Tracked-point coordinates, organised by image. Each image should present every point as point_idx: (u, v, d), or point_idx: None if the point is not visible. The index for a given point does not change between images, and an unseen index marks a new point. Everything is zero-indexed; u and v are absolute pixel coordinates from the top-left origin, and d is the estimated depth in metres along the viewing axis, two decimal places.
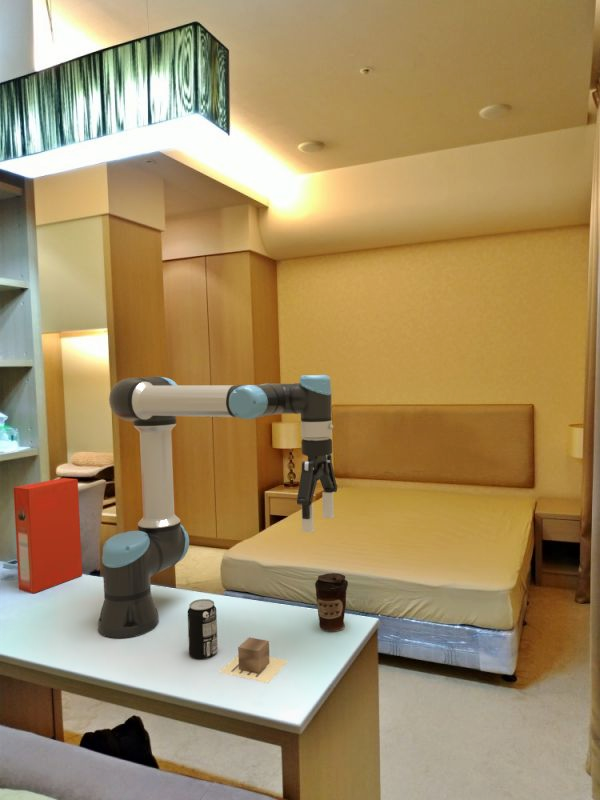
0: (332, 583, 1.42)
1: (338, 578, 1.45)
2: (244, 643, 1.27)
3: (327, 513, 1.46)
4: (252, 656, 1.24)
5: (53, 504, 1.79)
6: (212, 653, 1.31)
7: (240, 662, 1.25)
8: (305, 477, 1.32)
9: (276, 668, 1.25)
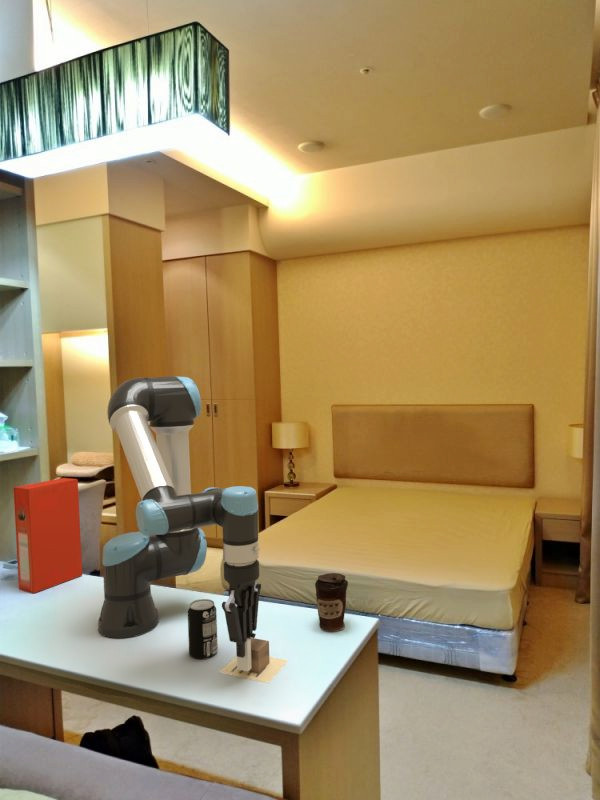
0: (332, 583, 1.42)
1: (338, 578, 1.45)
2: None
3: None
4: (252, 656, 1.24)
5: (53, 504, 1.79)
6: (212, 653, 1.31)
7: None
8: (231, 619, 1.17)
9: (276, 668, 1.25)
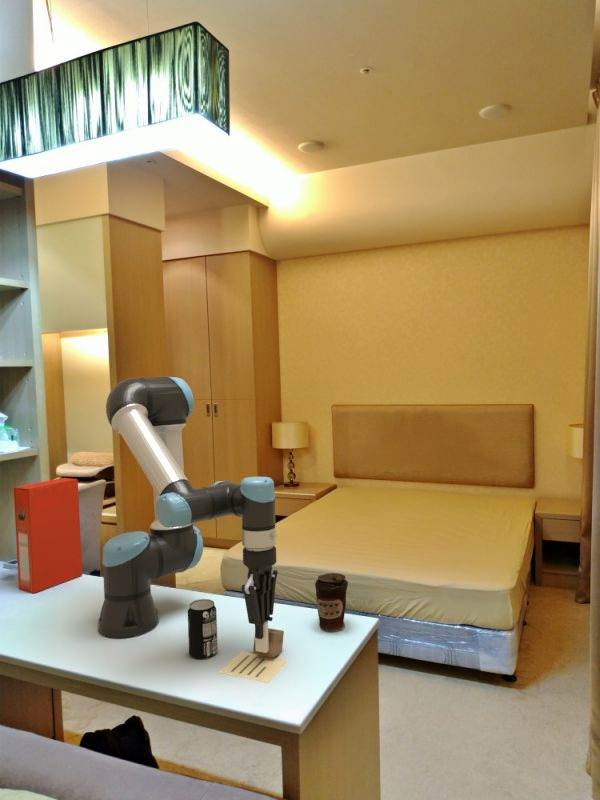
0: (332, 583, 1.42)
1: (338, 578, 1.45)
2: None
3: None
4: None
5: (53, 504, 1.79)
6: (212, 653, 1.31)
7: None
8: (250, 601, 1.24)
9: (276, 668, 1.25)
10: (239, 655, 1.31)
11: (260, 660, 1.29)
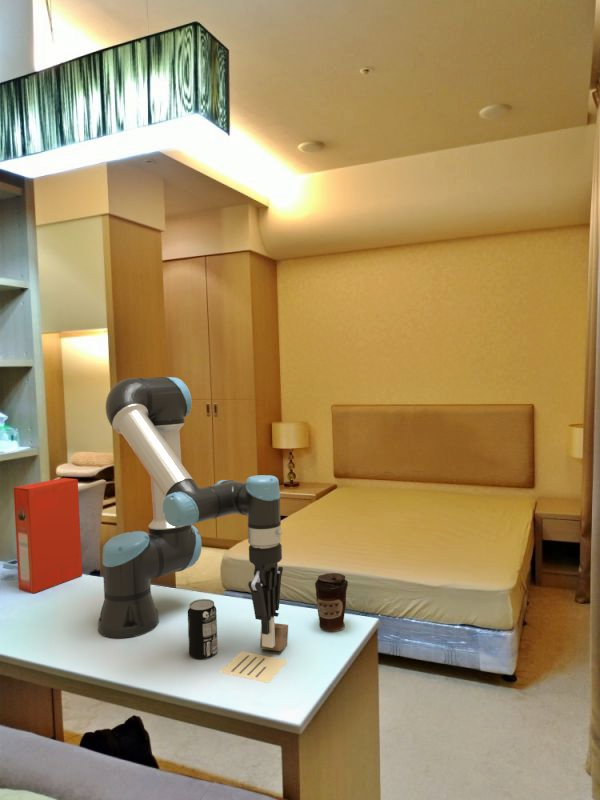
0: (332, 583, 1.42)
1: (338, 578, 1.45)
2: None
3: None
4: (275, 633, 1.32)
5: (53, 504, 1.79)
6: (212, 653, 1.31)
7: None
8: (256, 597, 1.27)
9: (276, 668, 1.25)
10: (239, 655, 1.31)
11: (260, 660, 1.29)
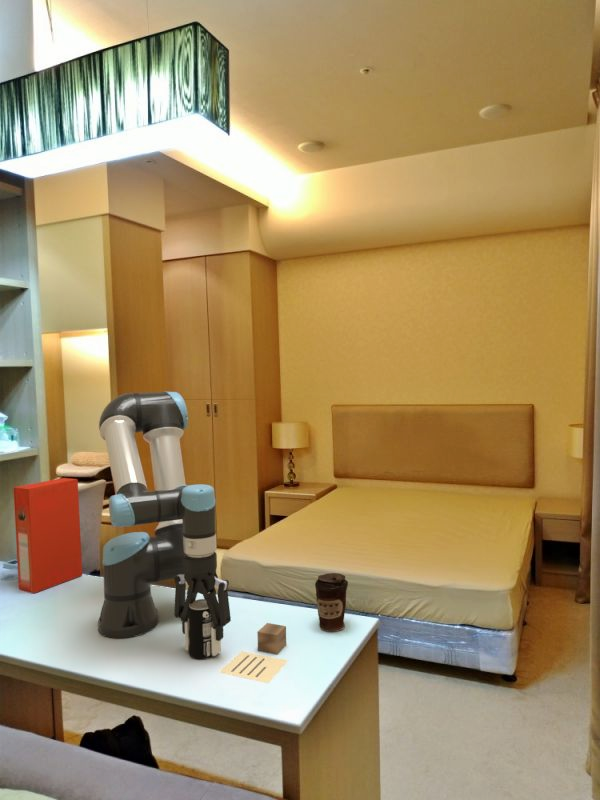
0: (332, 583, 1.42)
1: (338, 578, 1.45)
2: (263, 628, 1.35)
3: None
4: (271, 639, 1.32)
5: (53, 504, 1.79)
6: None
7: (259, 646, 1.33)
8: None
9: (276, 668, 1.25)
10: (239, 655, 1.31)
11: (260, 660, 1.29)
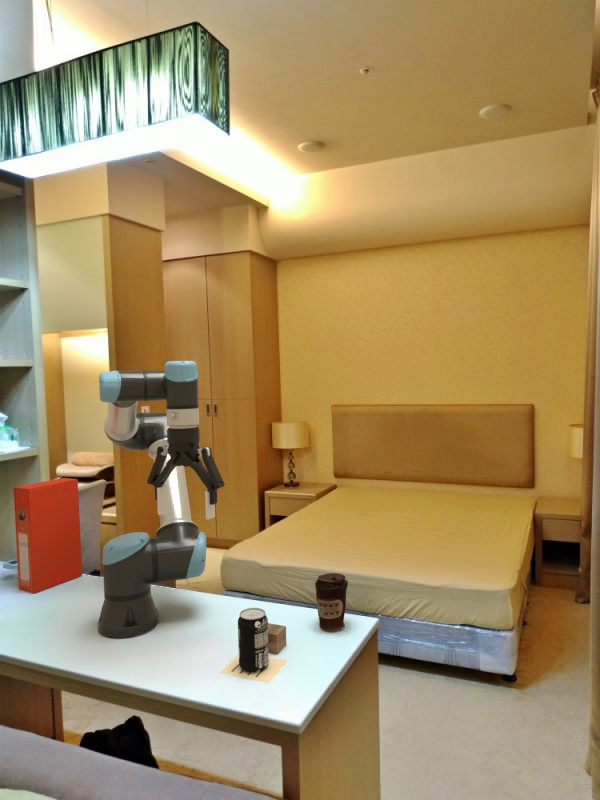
0: (332, 583, 1.42)
1: (338, 578, 1.45)
2: None
3: None
4: (271, 639, 1.32)
5: (53, 504, 1.79)
6: (264, 665, 1.24)
7: None
8: None
9: (276, 668, 1.25)
10: None
11: None
